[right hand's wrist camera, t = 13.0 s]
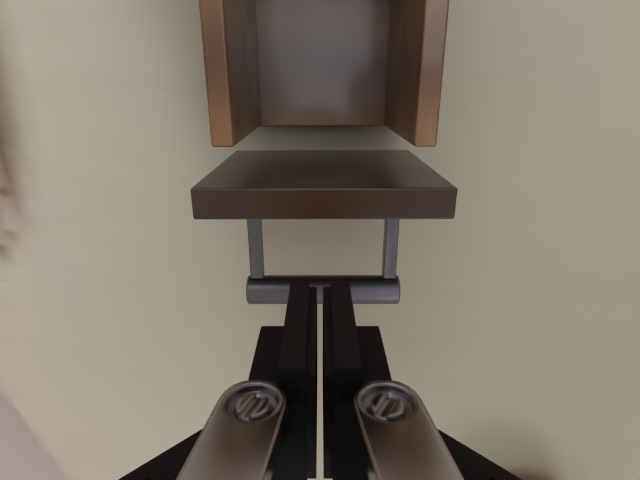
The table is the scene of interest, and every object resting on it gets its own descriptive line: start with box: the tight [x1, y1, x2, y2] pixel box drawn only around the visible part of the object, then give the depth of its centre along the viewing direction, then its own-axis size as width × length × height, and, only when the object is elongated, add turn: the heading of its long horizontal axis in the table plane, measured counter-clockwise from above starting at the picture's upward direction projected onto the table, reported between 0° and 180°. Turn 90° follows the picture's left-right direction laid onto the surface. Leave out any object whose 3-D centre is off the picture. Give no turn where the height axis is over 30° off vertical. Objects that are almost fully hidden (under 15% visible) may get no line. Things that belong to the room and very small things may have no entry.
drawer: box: [191, 0, 457, 304], centre depth 18 cm, size 24×10×9 cm, turn 0°
